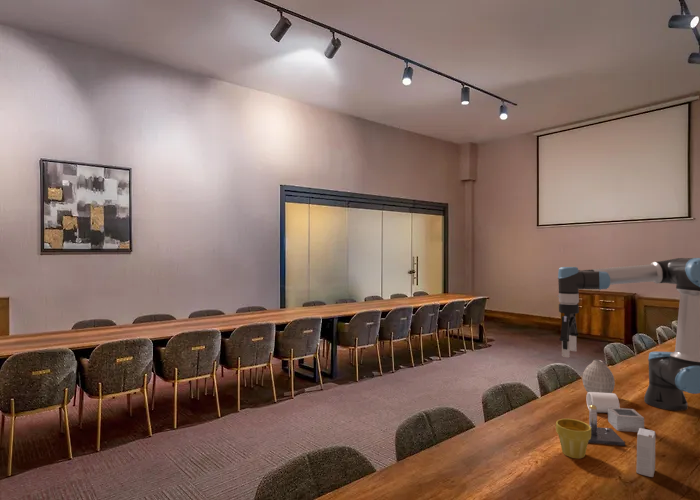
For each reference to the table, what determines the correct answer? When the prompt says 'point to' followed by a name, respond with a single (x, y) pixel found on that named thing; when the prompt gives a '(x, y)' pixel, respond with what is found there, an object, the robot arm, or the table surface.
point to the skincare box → (646, 452)
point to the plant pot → (573, 437)
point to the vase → (598, 378)
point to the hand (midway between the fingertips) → (569, 353)
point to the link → (625, 419)
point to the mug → (602, 401)
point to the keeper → (602, 431)
